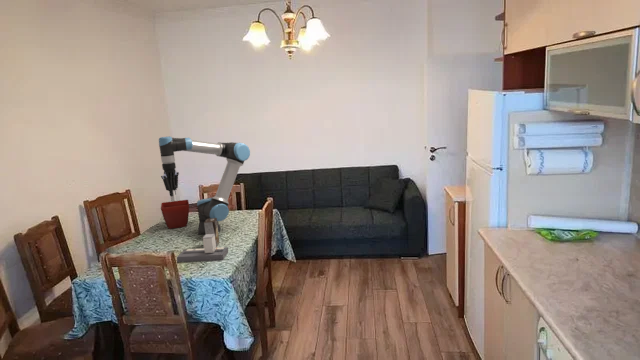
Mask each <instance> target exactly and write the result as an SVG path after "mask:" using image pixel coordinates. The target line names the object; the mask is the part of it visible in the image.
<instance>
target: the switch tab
mask: <svg viewBox="0 0 640 360" xmlns="http://www.w3.org/2000/svg"><path fill="white" fill-rule="evenodd" d="M202 243H203V248H204V251H205V253H214V251H215V250H216V248H217V247H216V241H215V234H206V235H203V237H202Z"/></svg>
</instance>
